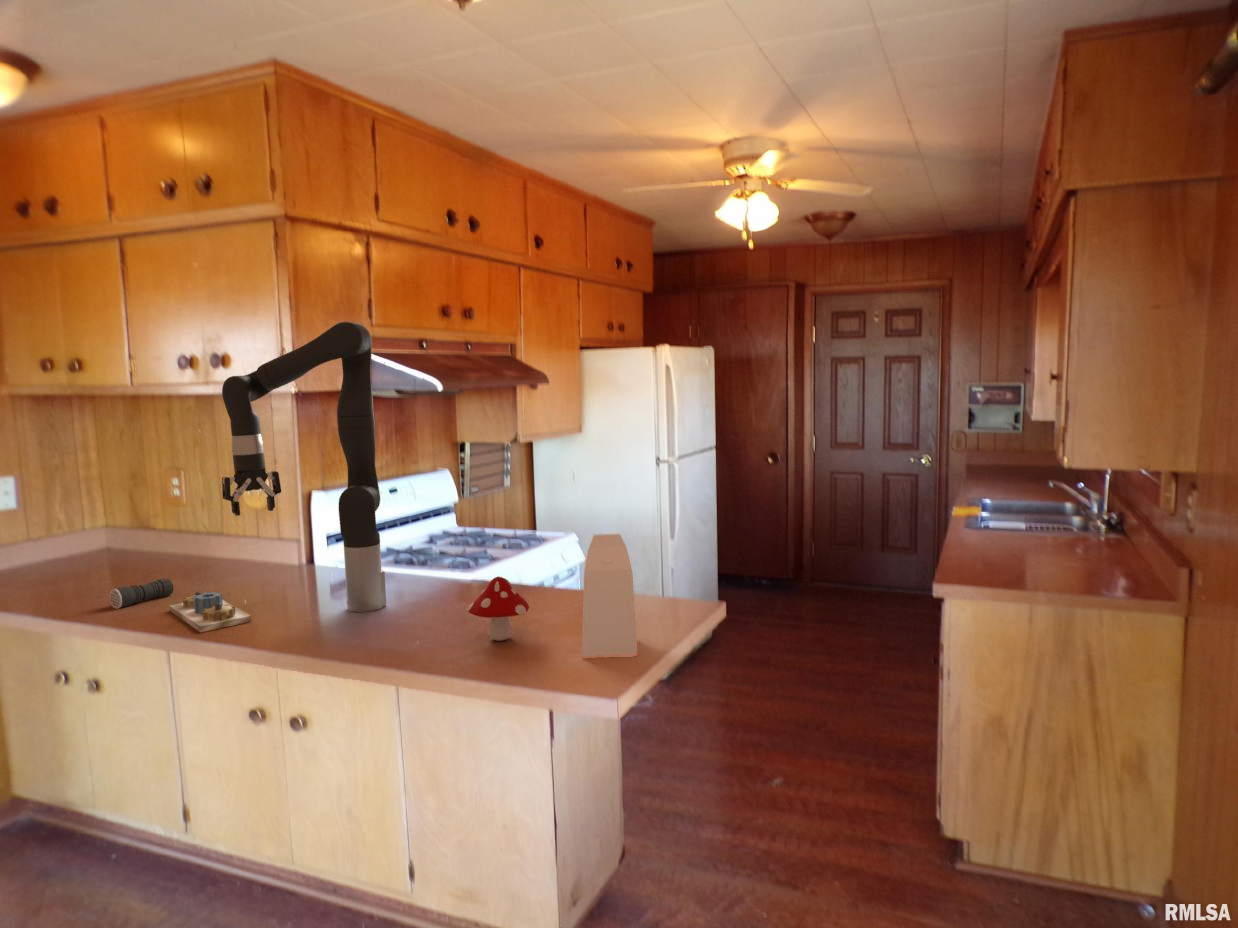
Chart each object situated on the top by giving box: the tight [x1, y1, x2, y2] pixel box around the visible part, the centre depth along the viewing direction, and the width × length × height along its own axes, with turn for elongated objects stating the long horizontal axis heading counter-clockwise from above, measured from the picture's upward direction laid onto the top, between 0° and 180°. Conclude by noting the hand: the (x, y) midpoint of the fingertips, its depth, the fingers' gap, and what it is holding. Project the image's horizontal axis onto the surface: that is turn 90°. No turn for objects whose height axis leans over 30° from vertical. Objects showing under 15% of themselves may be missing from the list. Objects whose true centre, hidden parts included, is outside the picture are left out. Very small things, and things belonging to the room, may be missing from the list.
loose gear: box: [194, 591, 223, 614], centre depth 213 cm, size 7×7×4 cm
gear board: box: [169, 590, 252, 633], centre depth 213 cm, size 12×26×5 cm, turn 43°
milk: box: [581, 533, 638, 657], centre depth 181 cm, size 12×12×26 cm
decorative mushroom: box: [467, 576, 530, 642], centre depth 189 cm, size 14×14×15 cm
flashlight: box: [109, 578, 174, 610], centre depth 228 cm, size 15×5×5 cm, turn 150°
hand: (254, 512), depth 216 cm, fingers open, 8 cm apart
